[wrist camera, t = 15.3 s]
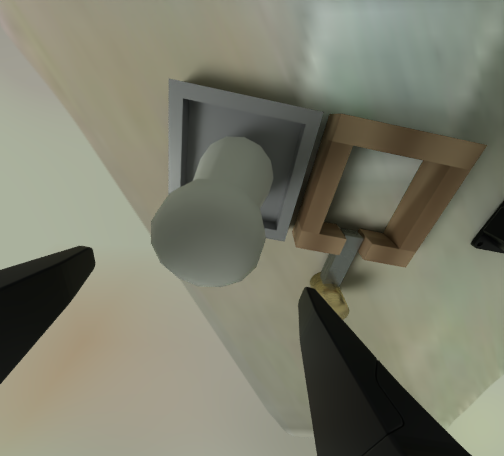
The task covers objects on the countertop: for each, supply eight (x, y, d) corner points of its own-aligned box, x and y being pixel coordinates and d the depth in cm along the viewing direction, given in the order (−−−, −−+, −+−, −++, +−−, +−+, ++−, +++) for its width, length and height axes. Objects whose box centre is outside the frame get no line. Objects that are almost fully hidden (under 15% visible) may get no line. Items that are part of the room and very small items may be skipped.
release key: (361, 230, 22) (382, 255, 18) (330, 293, 26) (342, 324, 22) (333, 224, 22) (348, 249, 18) (306, 288, 26) (314, 319, 22)
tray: (316, 112, 17) (323, 111, 15) (282, 229, 23) (284, 241, 20) (181, 83, 17) (168, 78, 15) (177, 209, 22) (168, 220, 20)
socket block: (454, 140, 18) (487, 145, 15) (389, 250, 23) (405, 267, 21) (329, 113, 17) (341, 113, 15) (292, 231, 23) (296, 247, 20)
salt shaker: (243, 211, 21) (219, 332, 9) (193, 173, 19) (91, 261, 8) (286, 164, 18) (323, 247, 7) (233, 116, 17) (171, 122, 5)
